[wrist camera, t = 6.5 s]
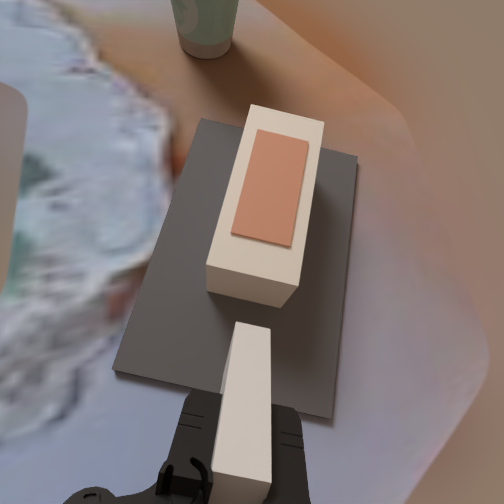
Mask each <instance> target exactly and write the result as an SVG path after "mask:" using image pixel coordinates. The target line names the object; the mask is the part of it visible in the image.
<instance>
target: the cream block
mask: <svg viewBox="0 0 504 504" xmlns="http://www.w3.org/2000/svg"><path fill="white" fill-rule="evenodd" d="M323 128H324V122H322V121H318V120H314V119H310V118H306V117H302V116H298V115H294V114H290V113H285V112H281V111H277V110H273V109H269V108H265V107H261V106H257V105H253V104H251V106H250V110H249V113H248V117H247V120H246V124H245V128H244V131H243V135H242V138H241V142H240V145H239V149H238V152H237V156H236V159H235V163H234V166H233V170H232V174H231V177H230V181H229V184H228V188H227V191H226V195H225V198H224V202H223V205H222V209H221V212H220V216H219V220H218V223H217V227H216V230H215V234H214V237H213V241H212V244H211V248H210V251H209V255H208V258H207V262H206V284H207V291H209V292H213V293H217V294H222V295H226V296H230V297H234V298H239V299H243V300H247V301H252V302H256V303H260V304H264V305H269V306H273V307H277V308H281V307H282V306H283V304H284V303H285V302H286V301H287V300H288V298H289V297H290V296H291V295H292V293H293V292H294V291H295V290H296V288H297V287H298V286H299V279H300V273H301V267H302V260H303V254H304V248H305V241H306V235H307V229H308V222H309V216H310V210H311V203H312V197H313V191H314V184H315V178H316V172H317V165H318V159H319V153H320V146H321V140H322V134H323Z"/></svg>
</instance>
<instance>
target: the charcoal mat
mask: <svg viewBox="0 0 504 504" xmlns="http://www.w3.org/2000/svg"><path fill="white" fill-rule="evenodd" d="M243 131H244V129H243V128H239V127H235V126H231V125H227V124H223V123H219V122H215V121H211V120H207V119H203V118H201V119H200V122H199V125H198V128H197V131H196V133H195V136H194V139H193V142H192V145H191V147H190V150H189V153H188V156H187V159H186V162H185V164H184V167H183V170H182V173H181V176H180V178H179V181H178V184H177V187H176V190H175V192H174V195H173V198H172V201H171V204H170V206H169V209H168V212H167V215H166V218H165V220H164V223H163V226H162V229H161V232H160V234H159V237H158V240H157V243H156V246H155V248H154V251H153V254H152V257H151V260H150V263H149V265H148V268H147V271H146V274H145V277H144V279H143V282H142V285H141V288H140V291H139V293H138V296H137V299H136V302H135V305H134V307H133V310H132V313H131V316H130V319H129V321H128V324H127V327H126V330H125V333H124V335H123V338H122V341H121V344H120V347H119V349H118V352H117V355H116V358H115V361H114V363H113V366H112V370H117V371H121V372H125V373H130V374H134V375H139V376H143V377H148V378H152V379H156V380H161V381H165V382H170V383H174V384H178V385H183V386H187V387H192V388H196V389H201V390H205V391H210V392H215V393H220V390H221V385H222V379H223V374H224V369H225V365H226V361H227V356H228V352H229V348H230V344H231V340H232V336H233V332H234V328H235V323H236V322H241V323H245V324H250V325H255V326H259V327H264V328H268V329H270V342H271V403H272V404H277V405H282V406H287V407H291V408H294V409H295V411H298V412H302V413H306V414H311V415H315V416H320V417H324V418H328V419H332V409H333V399H334V389H335V379H336V369H337V359H338V349H339V339H340V329H341V319H342V309H343V299H344V289H345V279H346V269H347V259H348V249H349V239H350V229H351V219H352V209H353V198H354V188H355V178H356V168H357V158H358V156H353V155H349V154H345V153H341V152H337V151H333V150H329V149H325V148H321V147H320V153H319V159H318V165H317V172H316V178H315V184H314V191H313V197H312V203H311V210H310V216H309V222H308V229H307V235H306V241H305V248H304V254H303V260H302V267H301V273H300V279H299V286H298V287H297V288H296V290H295V291H294V292H293V293H292V295H291V296H290V297H289V298H288V300H287V301H286V302H285V303H284V304H283V306H282V307H281V308H277V307H273V306H269V305H264V304H260V303H256V302H252V301H247V300H243V299H239V298H234V297H230V296H226V295H222V294H217V293H213V292H209V291H207V284H206V262H207V258H208V255H209V251H210V248H211V244H212V241H213V237H214V234H215V230H216V227H217V223H218V220H219V216H220V212H221V209H222V205H223V202H224V198H225V195H226V191H227V188H228V184H229V181H230V177H231V174H232V170H233V166H234V163H235V159H236V156H237V152H238V149H239V145H240V142H241V138H242V135H243Z"/></svg>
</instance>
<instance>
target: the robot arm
mask: <svg viewBox="0 0 504 504" xmlns="http://www.w3.org/2000/svg"><path fill="white" fill-rule="evenodd" d="M302 437H303V434H302V425H301V420H300V418H299V416H298V415H297V413H296V411H295V409H294V408H291V407H287V406H282V405H277V404H272V403H271V342H270V329H268V328H264V327H259V326H255V325H250V324H245V323H241V322H236V323H235V328H234V332H233V336H232V340H231V344H230V348H229V352H228V356H227V361H226V365H225V369H224V374H223V379H222V385H221V390H220V393H215V392H210V391H205V390H200V389H196V388H194V390H193V391H192V392H191V393H190V394H189V395H188V396H187V397H186V398H185V401H184V405H183V408H182V411H181V415H180V418H179V421H178V425H177V428H176V431H175V435H174V438H173V442H172V445H171V448H170V452H169V455H168V458H167V460H166V461H165V462H164V463H163V465H162V467H161V469H160V471H159V474H158V480H157V482H156V483H155V484H154V485H152V486H151V487H150V488H148V489H146V490H145V491H143V492H140V493H136V494H133V495H126V496H120V497H115V496H114V495H113V494H112V493H111V492H110V491H109V490H107V489H105V488H101V487H90V488H84V489H82V490H80V491H78V492H76V493H74V494H73V495H72V496H70V497H69V498H68V499H67V500H66V501H65V502H64V503H63V504H311V502H310V498H309V490H308V481H307V471H306V462H305V453H304V443H303V439H302Z"/></svg>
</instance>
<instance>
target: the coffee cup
mask: <svg viewBox="0 0 504 504" xmlns="http://www.w3.org/2000/svg"><path fill="white" fill-rule="evenodd" d="M238 1H239V0H171V4H172V8H173V13H174V18H175V23H176V28H177V33H178V37H179V42H180V45H181V47H182V48H183V49H184V50H185V51H186V52H187V53H188V54H190V55H192V56H194V57H197V58H202V59H214V58H218V57H220V56H222V55H224V54H225V53H226V52H227V51H228V50H229V48H230V45H231V40H232V35H233V29H234V24H235V18H236V12H237V7H238Z"/></svg>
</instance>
